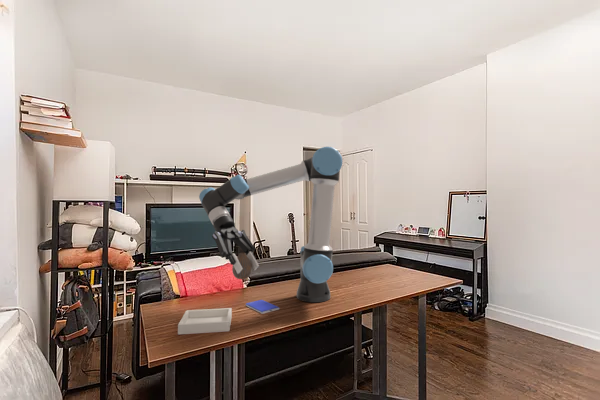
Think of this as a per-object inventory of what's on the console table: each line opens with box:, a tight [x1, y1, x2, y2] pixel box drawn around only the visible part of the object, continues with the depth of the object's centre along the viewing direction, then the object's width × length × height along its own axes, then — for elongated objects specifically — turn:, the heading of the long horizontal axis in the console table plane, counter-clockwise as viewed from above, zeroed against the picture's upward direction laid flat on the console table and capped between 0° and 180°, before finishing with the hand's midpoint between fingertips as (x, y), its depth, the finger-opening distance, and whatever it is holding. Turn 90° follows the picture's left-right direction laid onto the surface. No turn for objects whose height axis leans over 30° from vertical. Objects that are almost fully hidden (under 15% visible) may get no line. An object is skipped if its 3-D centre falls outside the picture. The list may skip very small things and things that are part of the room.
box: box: [177, 307, 233, 335], centre depth 106 cm, size 16×14×3 cm
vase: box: [232, 252, 253, 280], centre depth 110 cm, size 7×7×9 cm
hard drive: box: [245, 299, 280, 314], centre depth 124 cm, size 2×8×12 cm
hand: (248, 269), depth 108 cm, fingers closed on vase, 7 cm apart
